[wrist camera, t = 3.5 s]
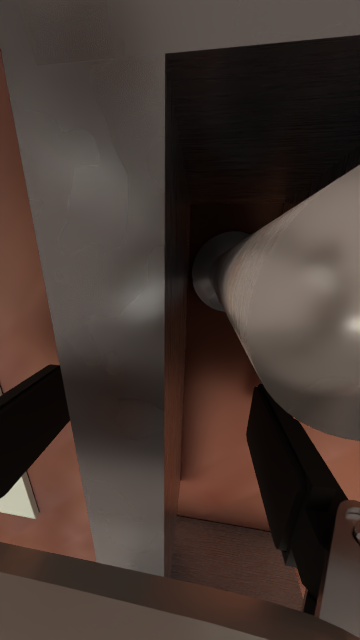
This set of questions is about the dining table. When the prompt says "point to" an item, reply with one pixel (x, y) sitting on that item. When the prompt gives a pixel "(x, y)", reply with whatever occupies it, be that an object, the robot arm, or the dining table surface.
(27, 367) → the dining table surface
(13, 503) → the mat
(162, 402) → the crook
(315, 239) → the grey metal pieces
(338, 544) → the robot arm
